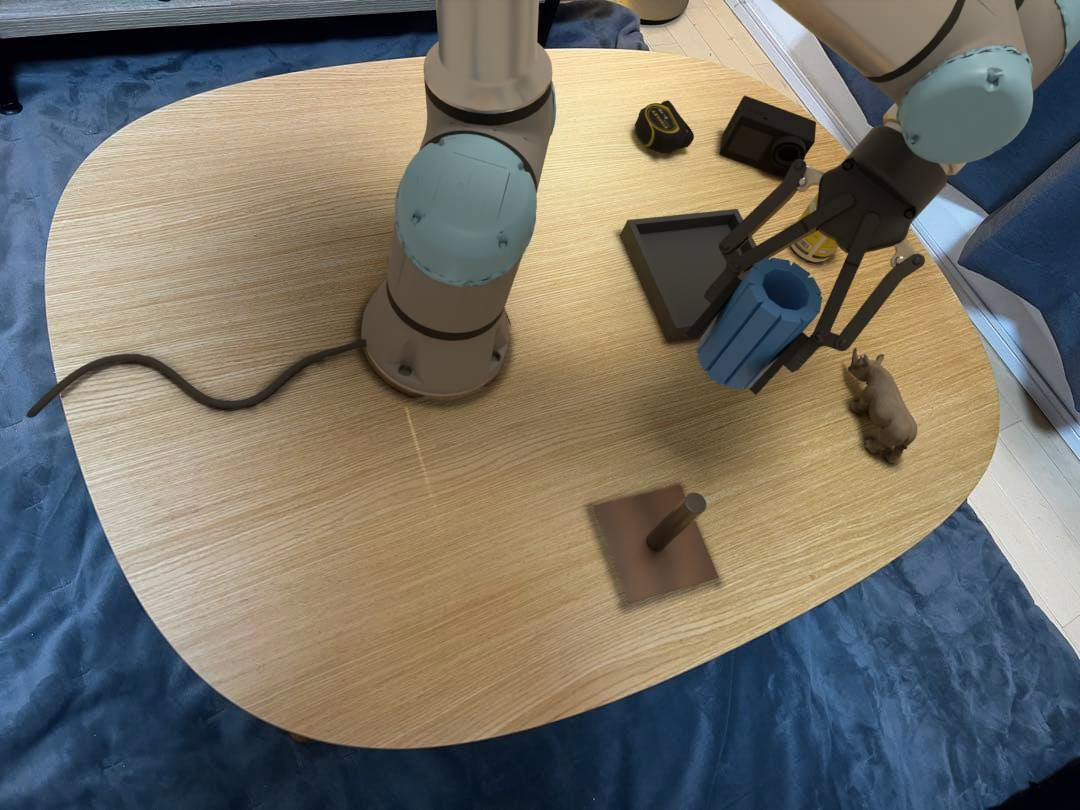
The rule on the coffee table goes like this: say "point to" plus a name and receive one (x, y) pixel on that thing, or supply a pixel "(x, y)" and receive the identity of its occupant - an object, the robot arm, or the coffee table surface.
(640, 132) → the tape measure
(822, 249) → the pill bottle
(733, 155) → the digital camera
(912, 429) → the rhino figurine
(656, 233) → the tray
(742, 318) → the blue grooved hollow cylinder
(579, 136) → the coffee table surface
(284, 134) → the coffee table surface
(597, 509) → the stand
